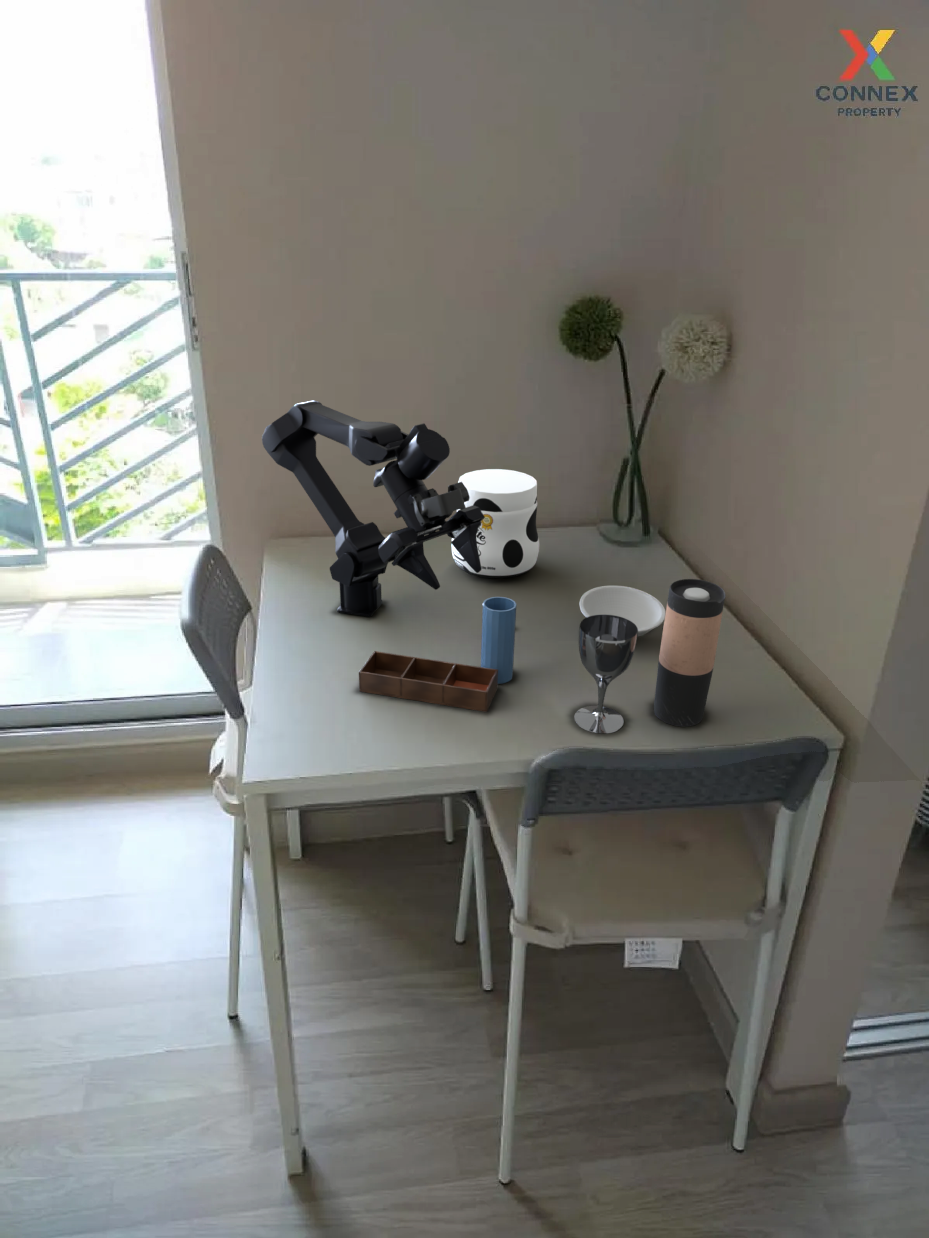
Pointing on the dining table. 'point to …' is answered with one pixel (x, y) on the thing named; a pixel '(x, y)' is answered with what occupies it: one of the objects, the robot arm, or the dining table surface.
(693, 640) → the travel mug
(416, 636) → the dining table surface
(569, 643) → the dining table surface
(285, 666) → the dining table surface
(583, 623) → the wine glass
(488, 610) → the tumbler
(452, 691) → the caddy
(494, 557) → the milk container
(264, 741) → the dining table surface
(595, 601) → the dish
